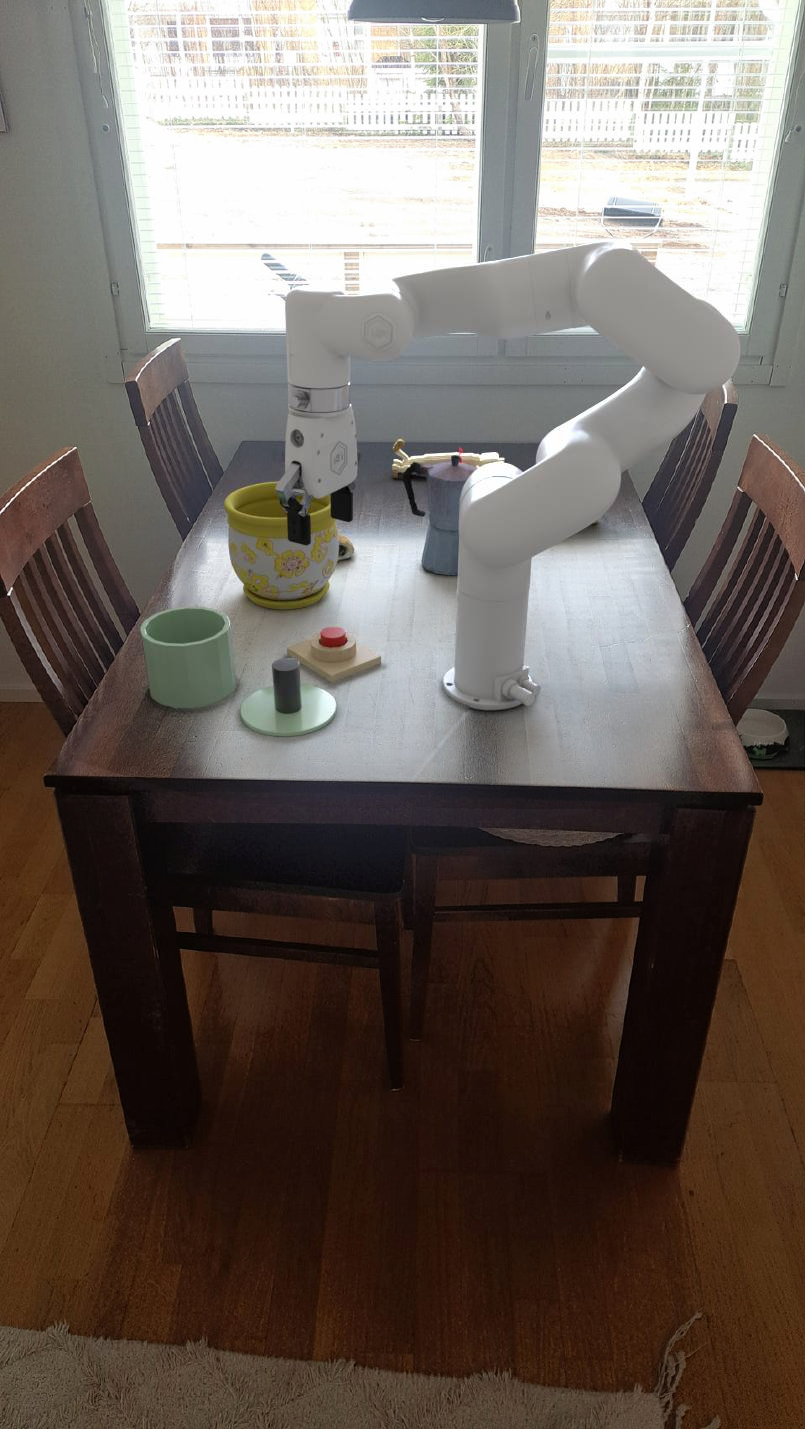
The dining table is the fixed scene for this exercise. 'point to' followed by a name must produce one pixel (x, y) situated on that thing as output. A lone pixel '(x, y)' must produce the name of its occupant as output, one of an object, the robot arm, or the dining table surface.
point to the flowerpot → (279, 548)
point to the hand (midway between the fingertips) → (321, 531)
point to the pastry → (345, 548)
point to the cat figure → (440, 459)
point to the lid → (287, 704)
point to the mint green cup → (188, 656)
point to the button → (333, 637)
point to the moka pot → (440, 511)
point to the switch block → (334, 657)
